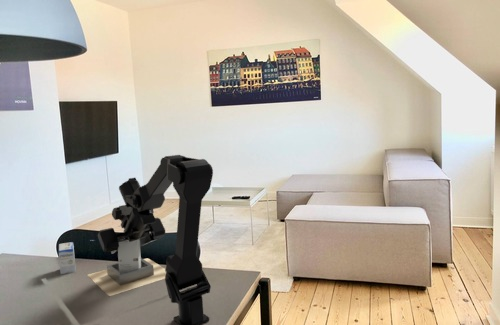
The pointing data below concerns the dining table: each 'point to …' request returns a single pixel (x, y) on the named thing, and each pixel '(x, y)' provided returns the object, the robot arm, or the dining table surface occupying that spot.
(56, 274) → the dining table surface
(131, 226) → the robot arm
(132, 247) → the skincare box
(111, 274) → the sleeve
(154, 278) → the board
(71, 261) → the medicine box
